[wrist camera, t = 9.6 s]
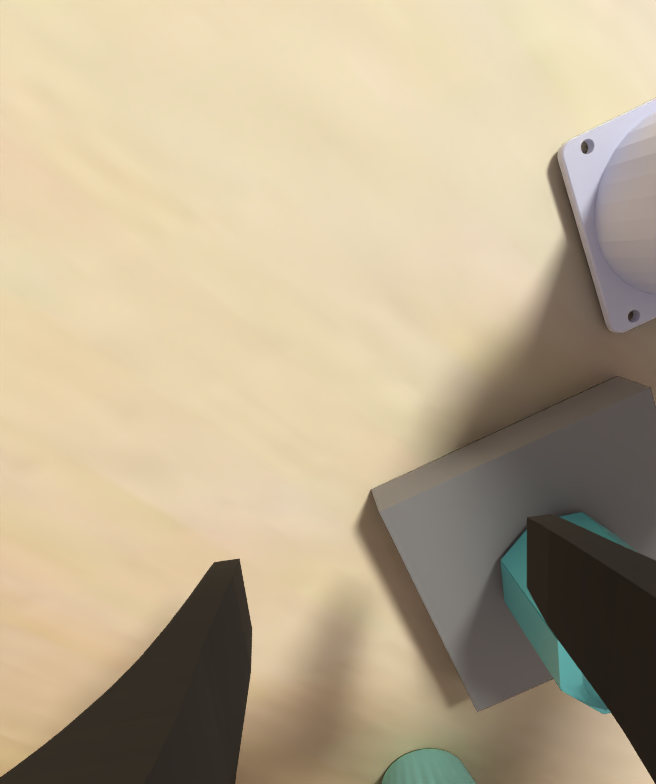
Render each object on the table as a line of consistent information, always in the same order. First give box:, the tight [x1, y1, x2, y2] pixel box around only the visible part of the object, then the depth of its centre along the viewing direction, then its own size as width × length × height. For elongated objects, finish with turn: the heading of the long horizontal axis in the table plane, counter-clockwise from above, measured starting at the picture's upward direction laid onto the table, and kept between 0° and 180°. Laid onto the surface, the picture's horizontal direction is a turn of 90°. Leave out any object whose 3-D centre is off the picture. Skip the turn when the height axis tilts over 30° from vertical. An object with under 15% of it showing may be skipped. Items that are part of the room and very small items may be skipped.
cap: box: [501, 512, 638, 714], centre depth 19 cm, size 5×5×4 cm
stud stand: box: [371, 376, 656, 712], centre depth 20 cm, size 12×12×6 cm
